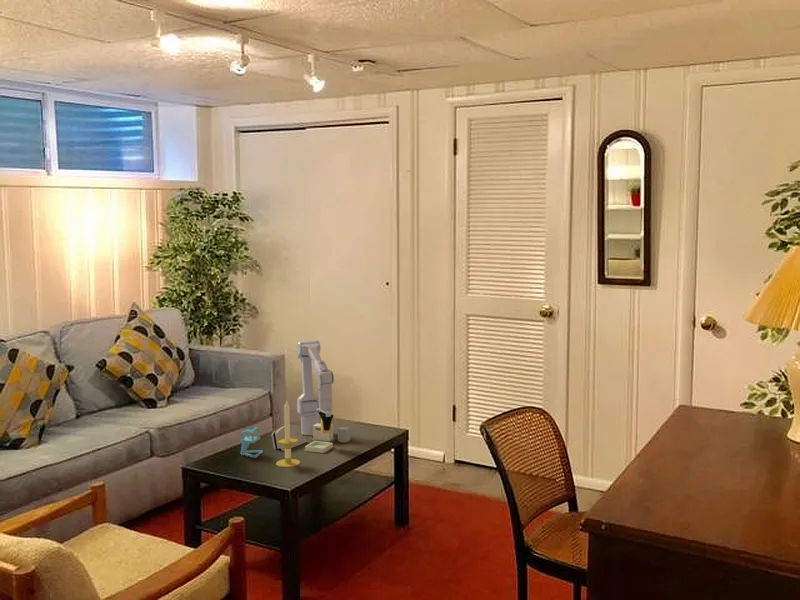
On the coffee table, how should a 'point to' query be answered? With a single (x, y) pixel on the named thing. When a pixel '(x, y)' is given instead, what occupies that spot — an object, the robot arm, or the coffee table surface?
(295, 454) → the coffee table surface
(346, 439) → the slate block
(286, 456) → the candle
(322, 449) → the sage tray
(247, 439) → the chair
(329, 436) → the cream unit
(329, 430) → the ochre block
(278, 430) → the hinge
